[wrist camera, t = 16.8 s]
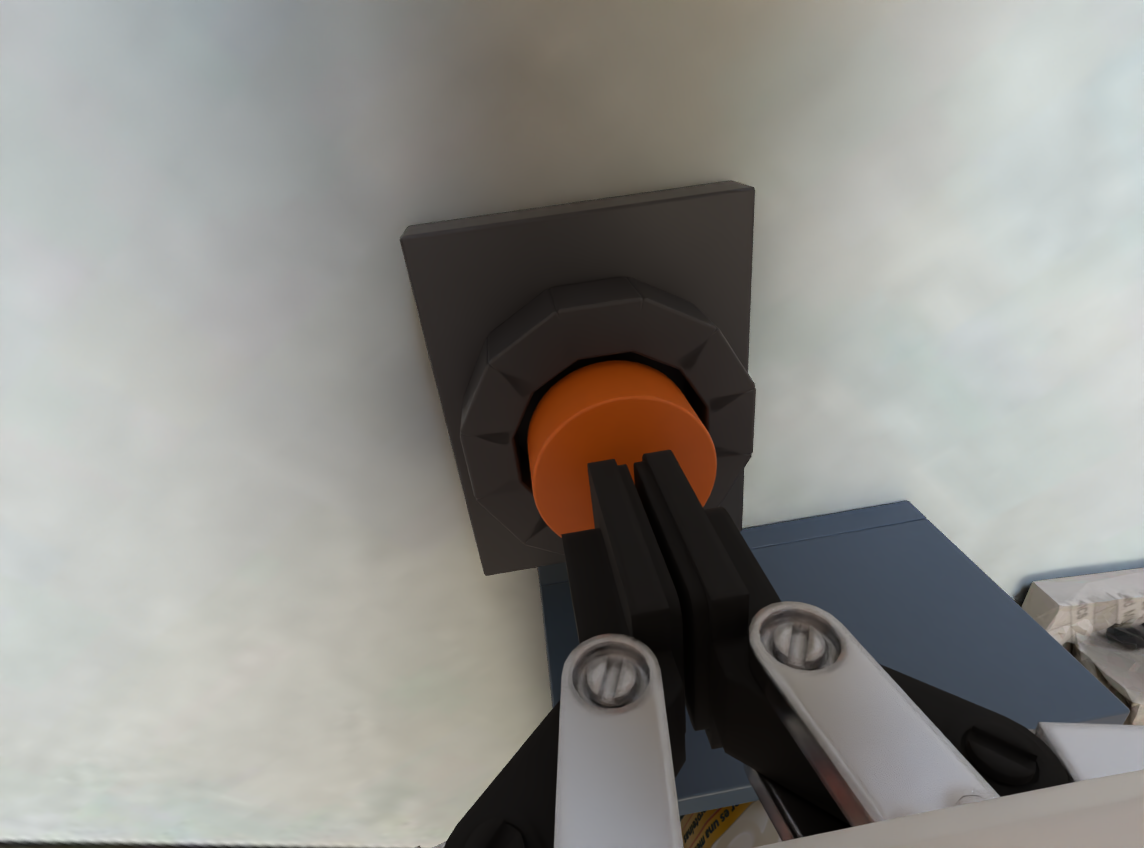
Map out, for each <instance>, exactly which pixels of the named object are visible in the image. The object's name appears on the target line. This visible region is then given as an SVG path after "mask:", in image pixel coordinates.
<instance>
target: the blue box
mask: <svg viewBox="0 0 1144 848" xmlns="http://www.w3.org/2000/svg"><path fill="white" fill-rule="evenodd" d="M740 533H741V535H742V536H743V538H744V540H745V541H746V543H747V545H748V546H749V548H750V550H751V551H752V553H753V555H754V556H755V558H756V560H757V561H758V563H759V565H760V566H761V568H762V570H763V571H764V573H765V575H766V576H767V578H768V580H769V581H770V583H771V585H772V586H773V588H774V590H775V591H776V593H777V595H778V596H779V598H780V600H781V601H782V602H784V601H792V602H802V603H806V604H810V605H813V606H816V607H818V608H820V609H822V610H824V611H826V612H828V613H830V614H831V615H832V616H834V617H835V618H836V619H837V620H838V621H839V622H841V623H842V624H843V625H844V626H845V627H846V629H847V630H848V631H849V632H850V633H851V634H852V635H853V636H854V637H855V638H856V639H857V641H858V642H859V643H860V644H861V645H862V646H863V647H864V648H865V649H866V650H867V652H868V653H869V654H870V655H871V656H872V657H873V658H874V659H875V660H876V661H877V662H878V663H879V664H881V665H884V666H886V667H888V668H891V669H893V670H896V671H898V672H900V673H903V674H905V675H908V676H910V677H912V678H915V679H917V680H920V681H922V682H924V683H927V684H929V685H932V686H934V687H936V688H939V689H941V690H944V691H946V692H948V693H951V694H953V695H956V696H958V697H960V698H963V699H965V700H968V701H970V702H972V703H975V704H977V705H980V706H982V707H984V708H987V709H989V710H992V711H994V712H996V713H999V714H1001V715H1004V716H1006V717H1008V718H1009V719H1011V720H1013V721H1015V722H1017V723H1019V724H1021V725H1023V726H1025V727H1026V728H1027V729H1036V727H1037V724H1038V722H1055V723H1084V724H1113V725H1123V724H1124V722H1125V720H1126V718H1127V717H1128V715H1129V713H1130V710H1129V708H1128V707H1127V706H1126V705H1124V704H1123V703H1122V702H1121V701H1120V700H1119V699H1118V698H1117V697H1116V696H1115V695H1114V694H1113V693H1112V692H1111V691H1110V690H1109V689H1107V688H1106V687H1105V686H1104V685H1103V684H1102V683H1101V682H1100V681H1099V680H1098V679H1097V678H1096V677H1095V676H1094V675H1093V674H1092V673H1090V672H1089V671H1088V670H1087V669H1086V668H1085V667H1084V666H1083V665H1082V664H1081V663H1080V662H1079V661H1078V660H1077V659H1076V658H1075V657H1073V656H1072V655H1071V654H1070V653H1069V652H1068V651H1067V650H1066V649H1065V648H1064V647H1063V646H1062V645H1061V644H1060V643H1059V642H1058V641H1056V640H1055V639H1054V638H1053V637H1052V636H1051V635H1050V634H1049V633H1048V632H1047V631H1046V630H1045V629H1044V628H1043V627H1042V626H1041V625H1039V624H1038V623H1037V622H1036V621H1035V620H1034V619H1033V618H1032V617H1031V616H1030V615H1029V614H1028V613H1027V612H1026V611H1025V610H1023V609H1022V608H1021V607H1020V606H1019V605H1018V604H1017V603H1016V602H1015V601H1014V600H1013V599H1012V598H1011V597H1010V596H1009V595H1008V594H1006V593H1005V592H1004V591H1003V590H1002V589H1001V588H1000V587H999V586H998V585H997V584H996V583H995V582H994V581H993V580H992V579H991V578H989V577H988V576H987V575H986V574H985V573H984V572H983V571H982V570H981V569H980V568H979V567H978V566H977V565H976V564H975V563H974V562H972V561H971V560H970V559H969V558H968V557H967V556H966V555H965V554H964V553H963V552H962V551H961V550H960V549H959V548H958V547H957V546H955V545H954V544H953V543H952V542H951V541H950V540H949V539H948V538H947V537H946V536H945V535H944V534H943V533H942V532H941V531H940V530H938V529H937V528H936V527H935V526H934V525H933V524H932V523H931V522H930V521H929V520H927V519H926V517H925V516H924V515H923V514H922V513H921V512H920V511H919V510H918V509H917V508H916V507H914V506H913V505H912V504H911V503H910V502H909V501H903V502H897V503H892V504H886V505H880V506H874V507H869V508H863V509H857V510H851V511H845V512H840V513H834V514H828V515H822V516H817V517H811V518H805V519H799V520H793V521H788V522H782V523H776V524H770V525H764V526H759V527H753V528H747V529H742V531H741V532H740ZM538 573H539V583H540V592H541V602H542V611H543V621H544V631H545V640H546V650H547V660H548V669H549V679H550V689H551V698H552V708H554V707H555V705H556V704H557V703H558V702H559V700H560V699H561V677H562V672H563V667H564V663H565V661H566V660H567V658H568V656H569V655H570V653H571V651H573V650H574V649H575V648H576V647H577V646H578V645H579V640H578V634H577V628H576V622H575V616H574V611H573V605H572V599H571V593H570V586H569V580H568V574H567V568H566V562H563V563H558V564H552V565H546V566H540V567H538ZM685 713H686V733H685V750H686V761H685V763H684V764H683V766H682V768H681V769H680V771H679V773H678V775H677V776H676V778H675V785H676V792H677V800H678V808H679V816H682V815H687V814H692V813H697V812H702V811H707V810H712V809H717V808H722V807H727V806H732V805H738V804H743V803H748V802H753V801H758V800H759V799H758V797H757V795H756V793H755V791H754V790H753V788H752V786H751V784H750V782H749V780H748V778H747V775H746V772H745V770H744V763H742V762H740V761H739V760H737V759H735V758H733V757H732V756H730V755H728V754H727V753H725V751H724V749H723V747H722V748H717V749H711V746H710V743H709V740H708V737H707V734H706V732H705V729H704V730H699V731H695V730H694V729H693V726H692V724H691V721H690V718H689V715H688V712H687V709H686V706H685Z"/></svg>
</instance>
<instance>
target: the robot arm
mask: <svg viewBox="0 0 1144 848" xmlns="http://www.w3.org/2000/svg"><path fill="white" fill-rule="evenodd" d="M587 467H588V476H589V485H590V493H591V501H592V509H593V517H594V526H595V529H589V530H583V531H578V532H572V533H566V534H561V536H562V543H563V549H564V555H565V562H566V568H567V574H568V580H569V586H570V593H571V599H572V605H573V611H574V616H575V622H576V628H577V634H578V640H579V645H578V646H577V647H576V648H575V649H574V650H573V651H571V653H570V655H569V656H568V658H567V660H566V661H565V663H564V667H563V672H562V677H561V699H560V700H559V702H558V703H557V704H556V705H555V707H554V708H553V709H552V710H551V711H550V713H549V714H548V715H547V716H546V717H545V719H544V720H543V721H542V722H541V723H540V725H539V726H538V727H537V728H536V730H535V731H534V732H533V733H532V734H531V736H530V737H529V738H528V739H527V740H526V742H525V743H524V744H523V745H522V747H521V748H520V749H519V750H518V751H517V753H516V754H515V755H514V756H513V757H512V759H511V760H510V761H509V762H508V764H507V765H506V766H505V767H504V768H503V770H502V771H501V772H500V773H499V774H498V776H497V777H496V778H495V779H494V780H493V782H492V783H491V784H490V785H489V787H488V788H487V789H486V790H485V791H484V793H483V794H482V795H481V796H480V797H479V799H478V800H477V801H476V802H475V804H474V805H473V806H472V807H471V808H470V810H469V811H468V812H467V813H466V814H465V816H464V817H463V818H462V819H461V821H460V822H459V823H458V824H457V826H456V827H455V829H454V830H453V832H452V833H451V835H450V837H449V838H448V840H447V841H446V842H444V843H442V844H439V845H437V846H435V847H433V848H684V847H683V839H682V831H681V823H680V816H679V808H678V800H677V792H676V785H675V778H676V776H677V775H678V773H679V771H680V769H681V768H682V766H683V764H684V763H685V761H686V750H685V733H686V713H685V706H686V709H687V712H688V715H689V718H690V721H691V724H692V726H693V729H694V730H695V731H699V730H704V729H705V732H706V734H707V737H708V740H709V743H710V746H711V749H717V748H722V747H723V749H724V751H725V753H727V754H728V755H730V756H732V757H733V758H735V759H737V760H739V761H740V762H742V763H744V770H745V772H746V775H747V778H748V780H749V782H750V784H751V786H752V788H753V790H754V791H755V793H756V795H757V797H758V799H759V800H760V802H761V804H762V806H763V808H764V810H765V811H766V813H767V815H768V817H769V819H770V820H771V822H772V824H773V826H774V828H775V829H776V831H777V833H778V835H779V837H780V839H781V840H782V842H778V843H773V844H768V845H763V846H758V847H754V848H1144V726H1143V725H1113V724H1084V723H1055V722H1038V724H1037V727H1036V729H1027V728H1026V727H1025V726H1023V725H1021V724H1019V723H1017V722H1015V721H1013V720H1011V719H1009V718H1008V717H1006V716H1004V715H1001V714H999V713H996V712H994V711H992V710H989V709H987V708H984V707H982V706H980V705H977V704H975V703H972V702H970V701H968V700H965V699H963V698H960V697H958V696H956V695H953V694H951V693H948V692H946V691H944V690H941V689H939V688H936V687H934V686H932V685H929V684H927V683H924V682H922V681H920V680H917V679H915V678H912V677H910V676H908V675H905V674H903V673H900V672H898V671H896V670H893V669H891V668H888V667H886V666H884V665H881V664H879V663H878V662H877V661H876V660H875V659H874V658H873V657H872V656H871V655H870V654H869V653H868V652H867V650H866V649H865V648H864V647H863V646H862V645H861V644H860V643H859V642H858V641H857V639H856V638H855V637H854V636H853V635H852V634H851V633H850V632H849V631H848V630H847V629H846V627H845V626H844V625H843V624H842V623H841V622H839V621H838V620H837V619H836V618H835V617H834V616H832V615H831V614H830V613H828V612H826V611H824V610H822V609H820V608H818V607H816V606H813V605H810V604H806V603H802V602H792V601H784V602H782V601H781V600H780V598H779V596H778V595H777V593H776V591H775V590H774V588H773V586H772V585H771V583H770V581H769V580H768V578H767V576H766V575H765V573H764V571H763V570H762V568H761V566H760V565H759V563H758V561H757V560H756V558H755V556H754V555H753V553H752V551H751V550H750V548H749V546H748V545H747V543H746V541H745V540H744V538H743V536H742V535H741V533H740V531H739V530H738V528H737V526H736V525H735V523H734V521H733V520H732V518H731V516H730V515H729V513H728V512H727V511H726V509H725V508H723V507H717V508H711V509H705V510H704V509H703V507H702V505H701V503H700V502H699V500H698V498H697V496H696V494H695V492H694V491H693V489H692V487H691V485H690V483H689V481H688V480H687V478H686V476H685V474H684V472H683V470H682V469H681V467H680V465H679V463H678V461H677V459H676V458H675V456H674V454H673V452H672V451H671V450H664V451H657V452H651V453H645V454H643V456H642V461H641V462H635V463H634V481H635V484H634V482H633V479H632V477H631V474H630V472H629V469H628V467H627V465H626V464H623V465H617V463H616V461H615V459H609V460H603V461H597V462H591V463H588V464H587ZM416 848H421V847H420V846H418V847H416Z"/></svg>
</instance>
